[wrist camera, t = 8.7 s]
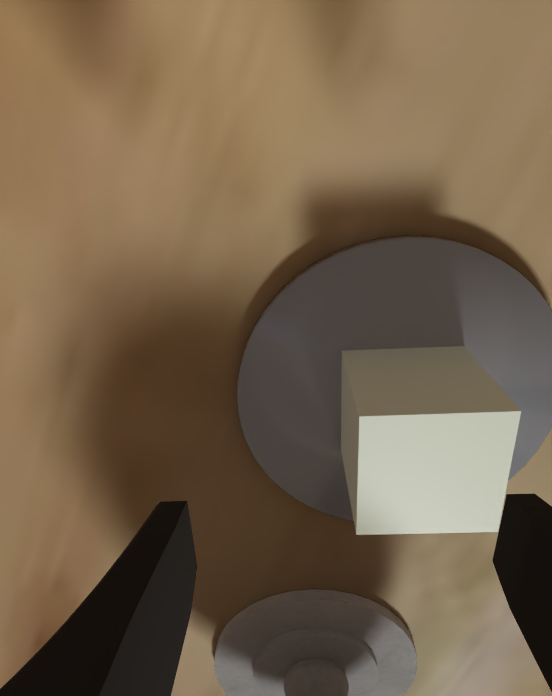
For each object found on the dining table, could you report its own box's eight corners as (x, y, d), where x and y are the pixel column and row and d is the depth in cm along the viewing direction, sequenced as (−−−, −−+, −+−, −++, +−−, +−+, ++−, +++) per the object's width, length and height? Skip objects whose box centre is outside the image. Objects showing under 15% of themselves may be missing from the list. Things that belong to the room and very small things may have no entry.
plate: (249, 514, 24) (247, 526, 23) (225, 241, 18) (223, 246, 17) (524, 509, 23) (532, 521, 23) (590, 228, 18) (603, 231, 17)
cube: (340, 449, 21) (356, 534, 17) (341, 350, 19) (359, 416, 15) (451, 446, 21) (497, 531, 16) (464, 345, 19) (521, 411, 14)
